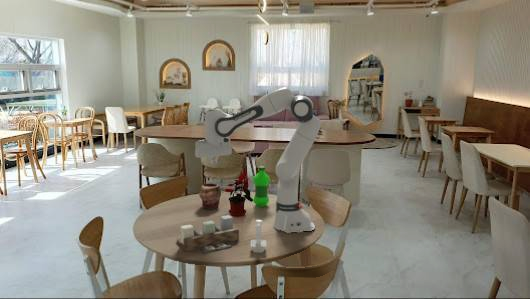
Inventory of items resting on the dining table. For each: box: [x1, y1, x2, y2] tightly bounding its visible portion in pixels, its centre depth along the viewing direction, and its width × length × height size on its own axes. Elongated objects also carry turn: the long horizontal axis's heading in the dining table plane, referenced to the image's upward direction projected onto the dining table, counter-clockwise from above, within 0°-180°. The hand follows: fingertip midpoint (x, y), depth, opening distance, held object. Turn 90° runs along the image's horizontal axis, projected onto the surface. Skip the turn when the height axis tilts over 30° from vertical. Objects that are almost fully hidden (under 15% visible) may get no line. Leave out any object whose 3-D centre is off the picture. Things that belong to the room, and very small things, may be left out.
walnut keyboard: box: [176, 225, 240, 254], centre depth 194 cm, size 28×18×6 cm, turn 120°
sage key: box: [201, 220, 216, 235], centre depth 196 cm, size 5×4×8 cm
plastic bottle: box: [253, 165, 271, 208], centre depth 248 cm, size 10×10×25 cm
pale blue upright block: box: [220, 214, 234, 231], centre depth 204 cm, size 5×4×8 cm
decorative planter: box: [198, 182, 222, 210], centre depth 247 cm, size 20×12×14 cm, turn 162°
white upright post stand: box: [250, 219, 267, 254], centre depth 186 cm, size 7×9×15 cm
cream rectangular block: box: [180, 224, 195, 244], centre depth 190 cm, size 5×4×8 cm
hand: (213, 164), depth 216 cm, fingers closed
